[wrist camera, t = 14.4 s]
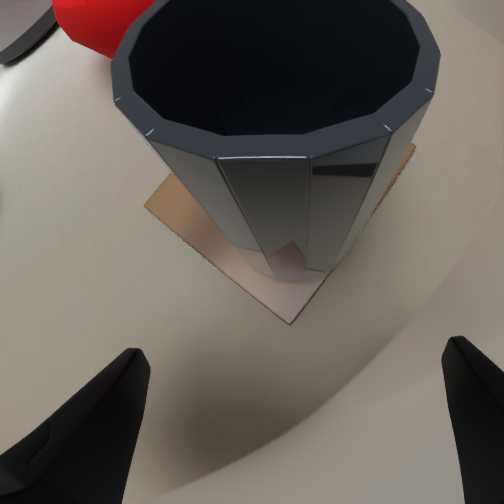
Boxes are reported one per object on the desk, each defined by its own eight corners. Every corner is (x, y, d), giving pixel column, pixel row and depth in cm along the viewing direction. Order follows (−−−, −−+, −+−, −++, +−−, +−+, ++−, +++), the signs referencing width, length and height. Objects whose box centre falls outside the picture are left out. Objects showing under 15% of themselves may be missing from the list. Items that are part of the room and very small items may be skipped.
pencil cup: (356, 283, 16) (480, 173, 4) (226, 279, 17) (69, 174, 5) (352, 165, 17) (394, -34, 5) (236, 164, 18) (156, -23, 6)
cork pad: (414, 149, 18) (416, 145, 17) (289, 325, 16) (289, 325, 16) (274, 71, 20) (274, 66, 20) (146, 208, 19) (142, 205, 19)
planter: (65, -2, 31) (36, -43, 21) (75, 20, 28) (37, -32, 18) (3, 49, 31) (-30, 14, 21) (1, 83, 28) (-44, 41, 18)
